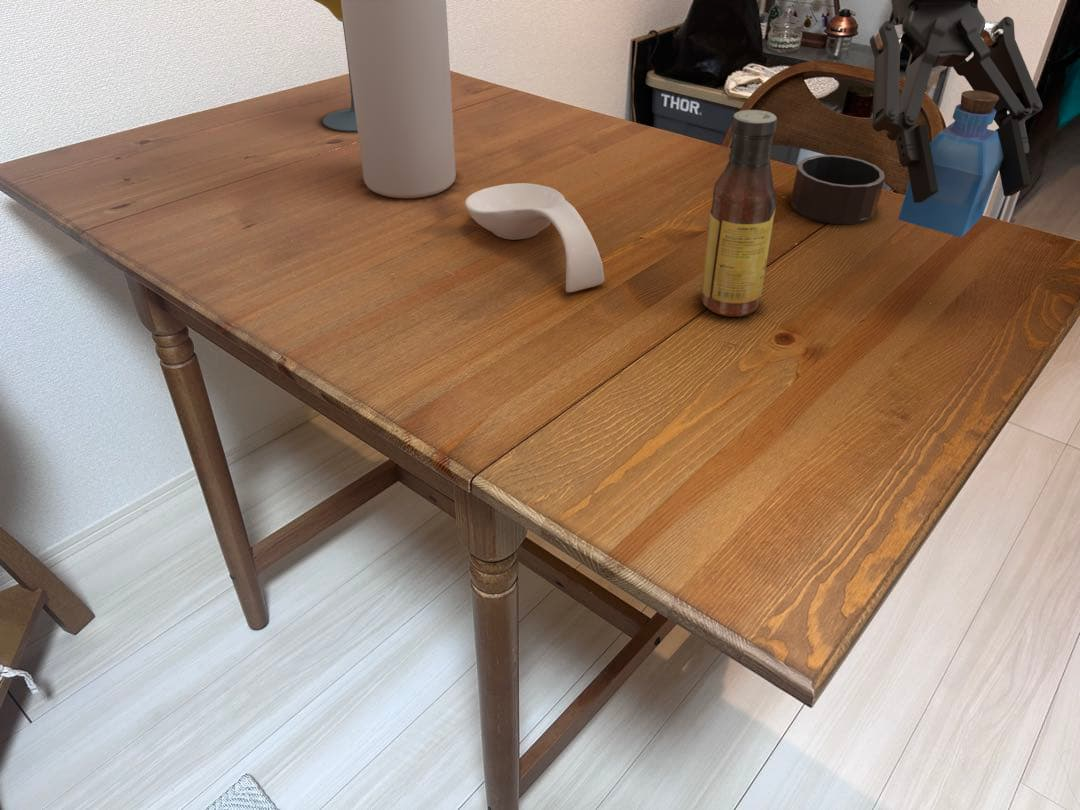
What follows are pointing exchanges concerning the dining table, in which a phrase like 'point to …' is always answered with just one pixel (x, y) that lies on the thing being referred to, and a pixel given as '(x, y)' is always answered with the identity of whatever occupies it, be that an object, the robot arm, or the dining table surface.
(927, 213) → the perfume bottle
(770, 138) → the sauce bottle
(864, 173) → the dark brown round bowl
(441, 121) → the cylinder vase
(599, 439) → the dining table surface
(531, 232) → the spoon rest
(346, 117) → the cocktail glass
